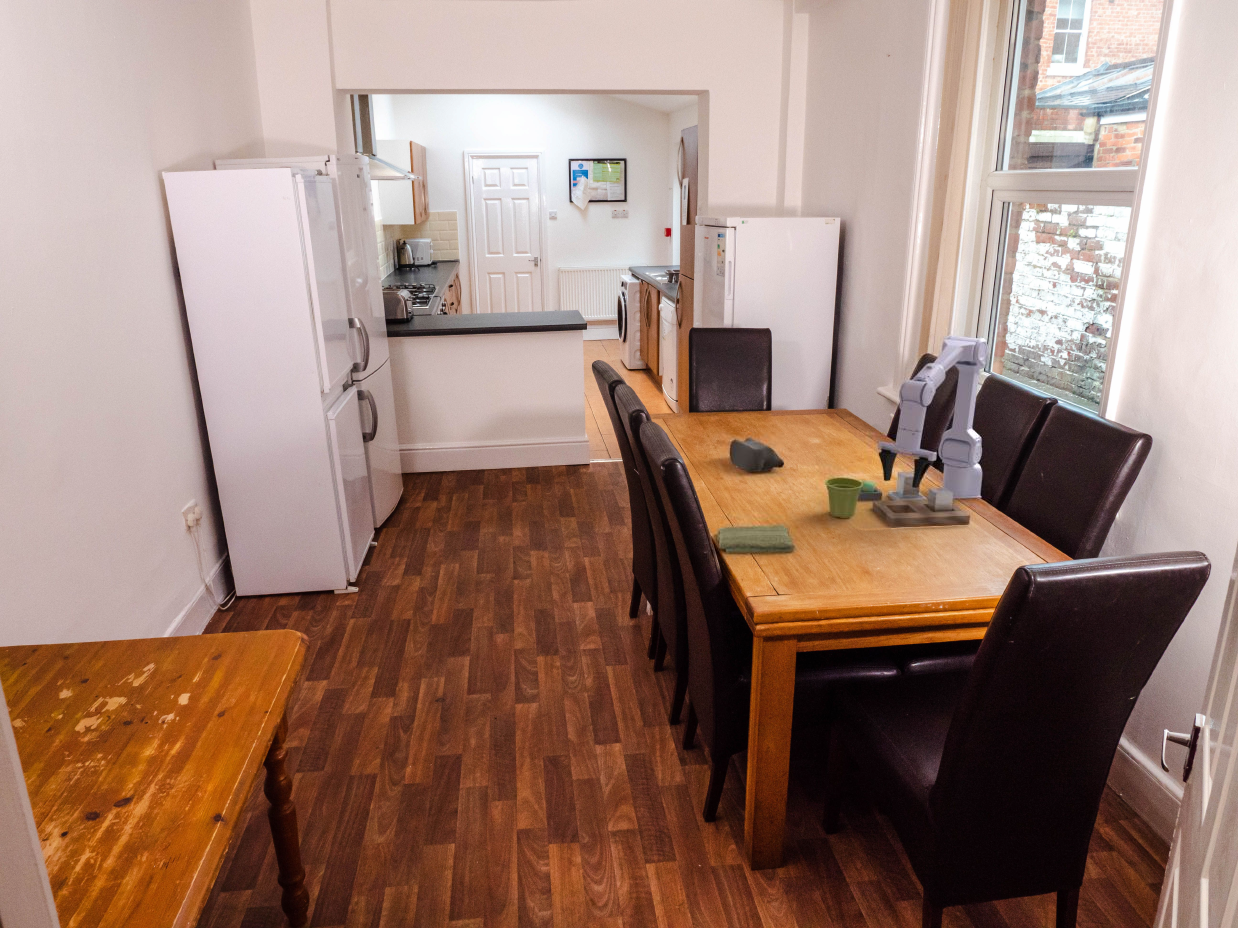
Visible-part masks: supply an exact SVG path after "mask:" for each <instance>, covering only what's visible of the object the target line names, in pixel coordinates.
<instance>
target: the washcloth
mask: <svg viewBox="0 0 1238 928" xmlns="http://www.w3.org/2000/svg"><path fill="white" fill-rule="evenodd" d="M716 538H717V541H718V542H719V543H718V548H719V549H722V550H725V553H726V554H775V553H776V554H777V553H780V554H782V553H789V554H790V553H791V552H794V550H795V548H796V546H795V544H794V542H793V540H792V538H791V537H790V530H789V529H788V528H787V526H786V525H783V524H776V525H751V526H749V525H748V526H747V525H746V526H725V527H721V528H720V529H718V530H717V536H716Z"/></svg>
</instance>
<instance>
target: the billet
mask: <svg viewBox="0 0 1238 928" xmlns="http://www.w3.org/2000/svg"><path fill="white" fill-rule="evenodd" d="M913 477H914V470H913V471H897V478H896V479H897V480H896V490H895V491H896V497H897V498H898V499H915V498H919V493H920V486H921V484H920V485H919V487H917V488H914V487H912V483H913Z"/></svg>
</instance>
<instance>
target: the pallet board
mask: <svg viewBox="0 0 1238 928" xmlns="http://www.w3.org/2000/svg"><path fill="white" fill-rule="evenodd" d="M927 504H928V498H927V499H923V500H896V501H894V500H872V507H871V508H872V510H873V512H875V513H876V514H877V515H878V516H879V517H881V518H882V519H883V520H884V521H885V522H886V523H887V524H888V525H890V526H889V527H890V528H892V529H894V528H897V527H905V528H916V527H917V528H918V527H919V528H920V527H922V526H930V527H939V526H940V527H943V526H946V525H955V526H965V525H966V524H970V520H971V515H970V514H969V513H967V512H966V511H965V510H963V509H962V508H961V507H959V506H958V505H956V504H955V503H954V502H952V511H945V512H932V511H931V510H930V509H929V508H927Z"/></svg>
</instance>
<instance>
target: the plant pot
mask: <svg viewBox="0 0 1238 928" xmlns="http://www.w3.org/2000/svg"><path fill="white" fill-rule="evenodd" d="M824 484H825V486H826V489H827V492H828V493H827V494H828V502H829V514H830V515H831V516H832V517H834V518H840V519H850V518H851V517H853V516H855V513H856V508H857V503H858V500H859V499H858V495H859V492H860V490H861V487H862V486H863V483H862V481H861V480H859V479H856V478H850V477H832V478H827V479H826V480H825V481H824Z"/></svg>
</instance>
